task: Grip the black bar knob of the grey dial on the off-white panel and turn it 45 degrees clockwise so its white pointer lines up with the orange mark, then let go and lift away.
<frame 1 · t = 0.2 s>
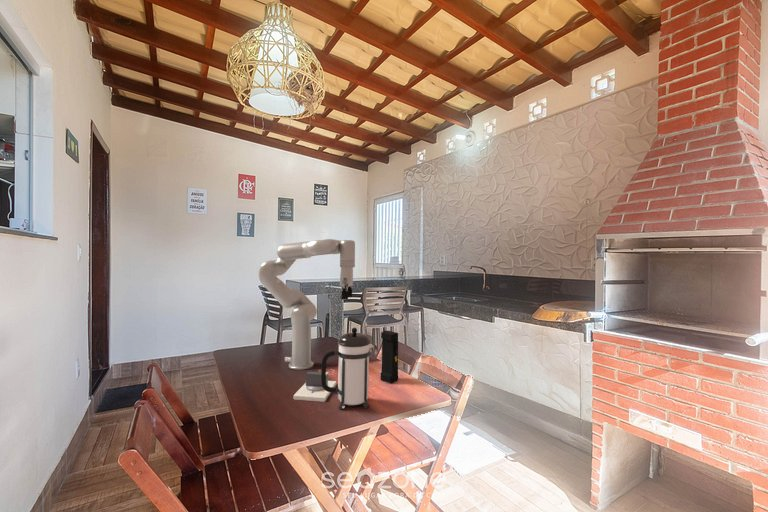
hand: (346, 297, 173), 36 cm above the table, tool pointing down, fingers open, 9 cm apart
coffee press: (349, 404, 134), on the table
dial panel: (316, 390, 146), on the table
dial: (316, 379, 146), point 5 cm above the table, hinge at 0.0°
portable radio: (390, 380, 159), on the table
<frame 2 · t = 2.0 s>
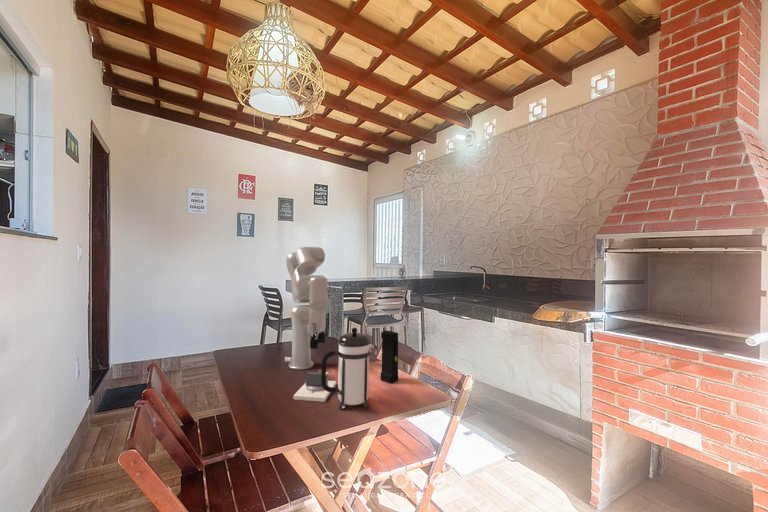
hand: (317, 345, 146), 20 cm above the table, tool pointing down, fingers open, 9 cm apart
nothing on the table moved.
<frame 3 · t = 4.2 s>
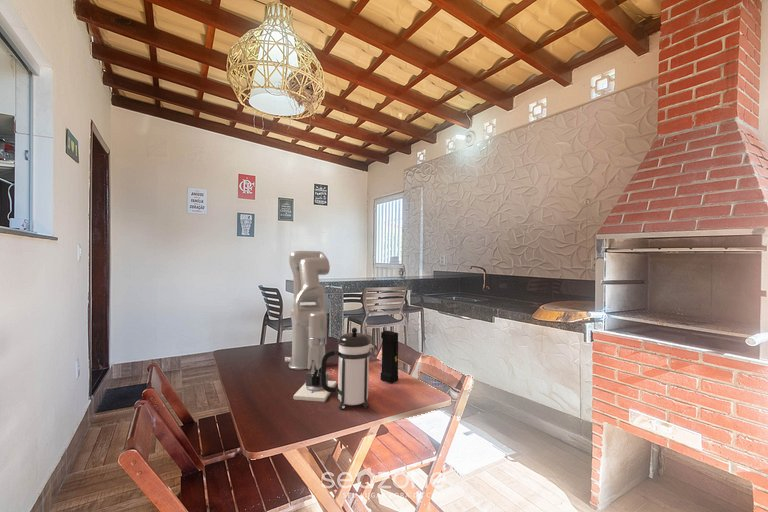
hand: (316, 383, 146), 3 cm above the table, tool pointing down, fingers closed on dial, 2 cm apart
dial: (316, 379, 146), point 5 cm above the table, hinge at 0.0°, touching gripper
everything else where it was.
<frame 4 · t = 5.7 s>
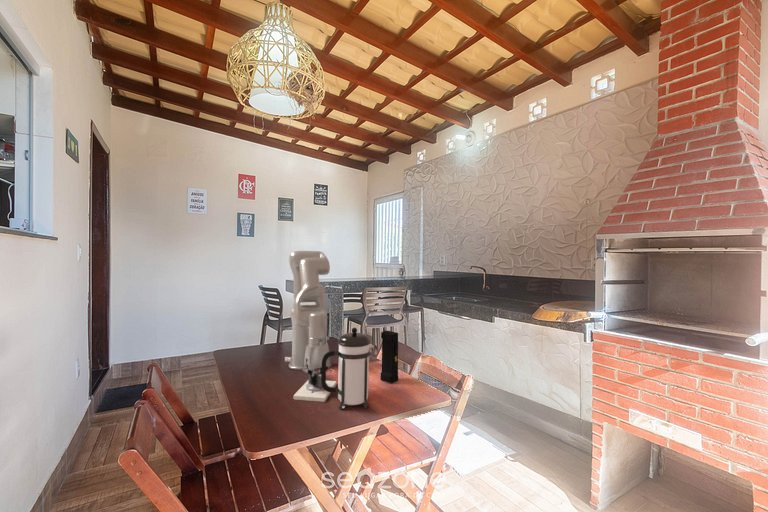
hand: (317, 383, 146), 3 cm above the table, tool pointing down, fingers closed on dial, 3 cm apart
dial: (316, 379, 146), point 5 cm above the table, hinge at -35.2°, touching gripper
everything else where it was.
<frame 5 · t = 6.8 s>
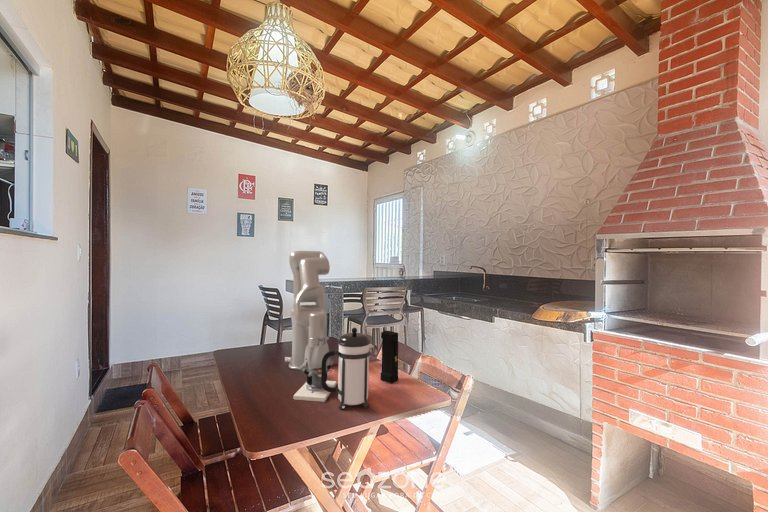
hand: (316, 382, 146), 4 cm above the table, tool pointing down, fingers open, 6 cm apart
dial: (316, 379, 146), point 5 cm above the table, hinge at -40.5°
everything else where it was.
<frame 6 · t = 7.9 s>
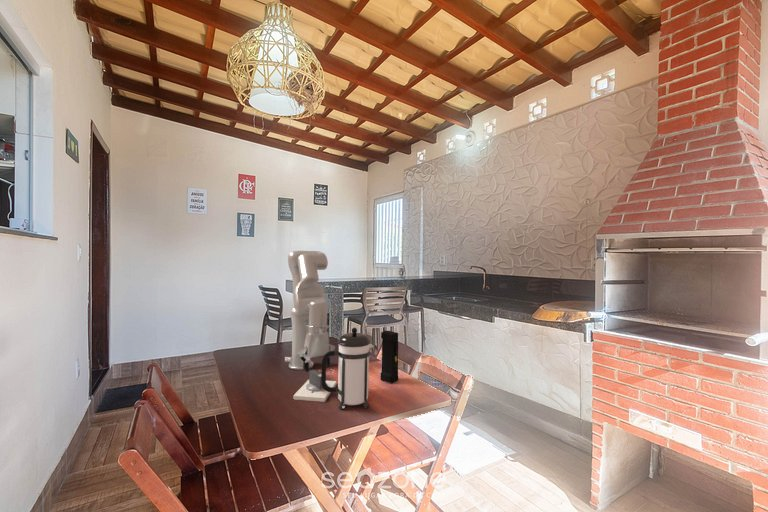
hand: (316, 368, 147), 9 cm above the table, tool pointing down, fingers open, 9 cm apart
dial: (316, 379, 146), point 5 cm above the table, hinge at -41.0°
everything else where it was.
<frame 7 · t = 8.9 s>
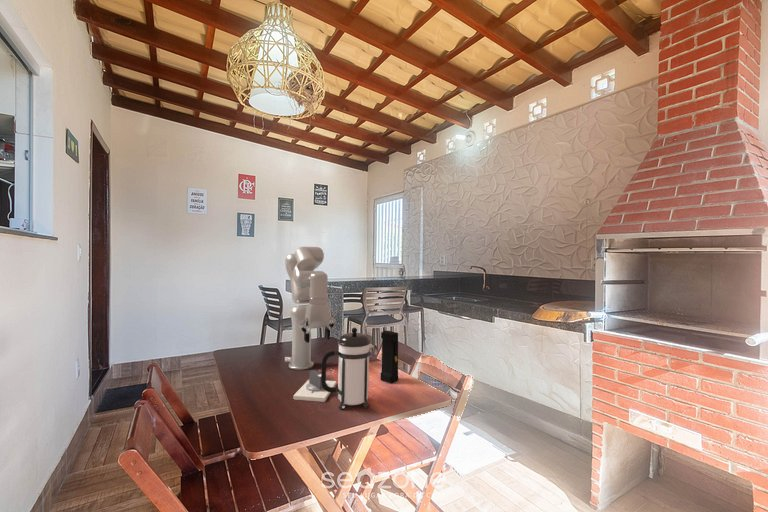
hand: (317, 340, 148), 21 cm above the table, tool pointing down, fingers open, 9 cm apart
nothing on the table moved.
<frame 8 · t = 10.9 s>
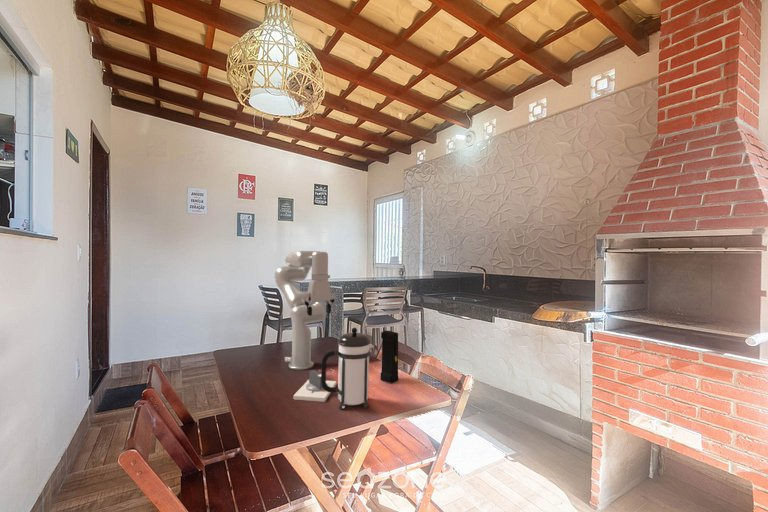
hand: (319, 314, 160), 30 cm above the table, tool pointing down, fingers open, 9 cm apart
nothing on the table moved.
at the end: dial at -41° (first picture: +0°); the gripper is holding nothing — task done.
